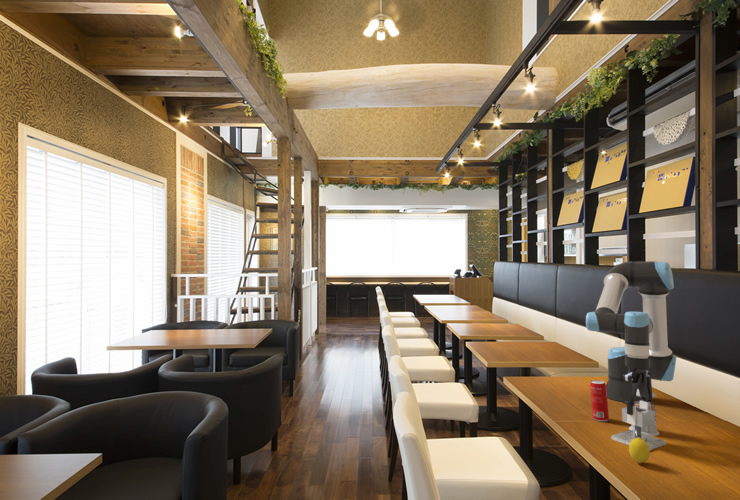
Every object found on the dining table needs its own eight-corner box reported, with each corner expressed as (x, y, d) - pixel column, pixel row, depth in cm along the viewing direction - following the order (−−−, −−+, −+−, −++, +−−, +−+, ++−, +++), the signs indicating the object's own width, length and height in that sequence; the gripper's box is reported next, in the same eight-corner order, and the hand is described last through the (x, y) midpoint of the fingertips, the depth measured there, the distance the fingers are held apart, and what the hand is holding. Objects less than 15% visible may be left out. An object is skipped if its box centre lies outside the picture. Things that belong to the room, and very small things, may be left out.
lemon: (625, 459, 140) (624, 434, 140) (641, 459, 140) (641, 433, 141) (637, 467, 134) (636, 441, 135) (654, 467, 135) (653, 440, 135)
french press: (655, 427, 168) (654, 361, 168) (664, 439, 157) (663, 368, 157) (626, 424, 171) (625, 359, 172) (633, 435, 160) (632, 366, 161)
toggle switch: (630, 432, 162) (630, 411, 163) (665, 444, 152) (665, 422, 152) (611, 438, 156) (611, 417, 157) (646, 451, 146) (646, 428, 146)
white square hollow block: (633, 417, 159) (633, 405, 159) (654, 423, 153) (653, 410, 153) (622, 421, 156) (621, 408, 156) (642, 427, 150) (642, 414, 150)
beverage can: (611, 422, 173) (611, 383, 174) (594, 421, 174) (594, 383, 174) (604, 417, 179) (604, 379, 179) (588, 416, 180) (587, 379, 180)
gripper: (642, 351, 163) (643, 414, 162) (609, 356, 153) (610, 423, 153) (663, 355, 157) (664, 420, 156) (631, 361, 147) (632, 430, 146)
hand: (637, 421), depth 154 cm, fingers closed on white square hollow block, 7 cm apart
